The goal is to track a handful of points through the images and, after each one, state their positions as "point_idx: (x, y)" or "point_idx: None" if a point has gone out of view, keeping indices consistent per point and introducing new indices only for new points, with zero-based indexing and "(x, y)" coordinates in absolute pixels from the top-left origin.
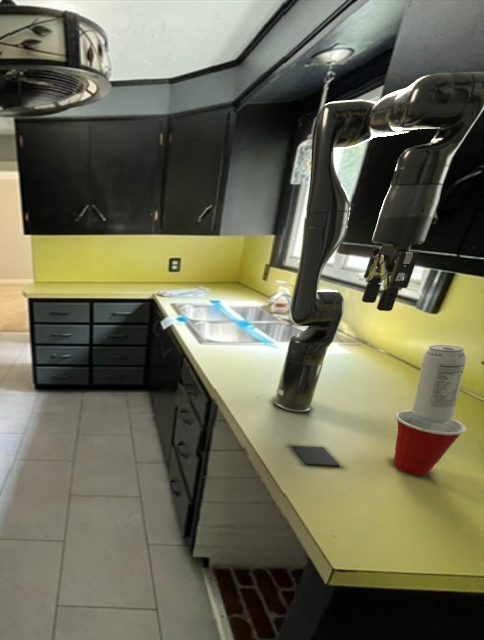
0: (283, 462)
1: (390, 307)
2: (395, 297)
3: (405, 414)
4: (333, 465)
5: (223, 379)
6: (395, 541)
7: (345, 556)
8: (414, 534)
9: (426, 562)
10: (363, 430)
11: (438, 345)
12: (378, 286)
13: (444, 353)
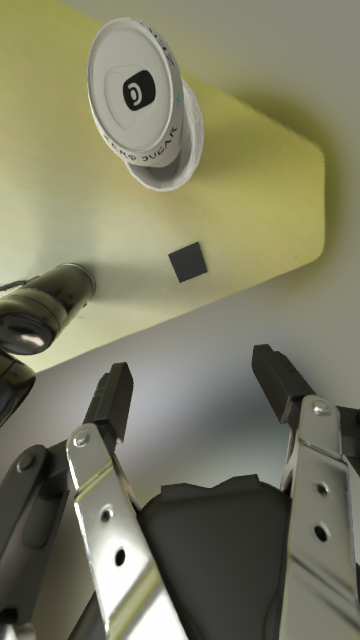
0: (210, 288)
1: (280, 355)
2: (288, 374)
3: (133, 168)
4: (199, 247)
5: (56, 350)
6: (294, 211)
7: (314, 250)
8: (283, 191)
9: (314, 191)
10: (88, 199)
11: (94, 108)
12: (112, 413)
13: (172, 119)
